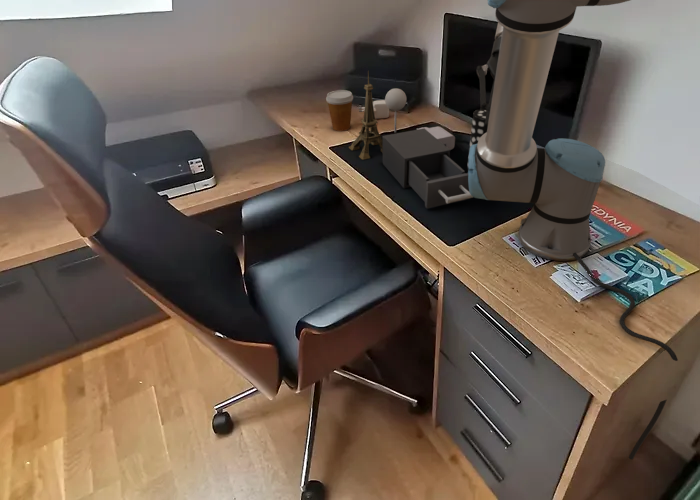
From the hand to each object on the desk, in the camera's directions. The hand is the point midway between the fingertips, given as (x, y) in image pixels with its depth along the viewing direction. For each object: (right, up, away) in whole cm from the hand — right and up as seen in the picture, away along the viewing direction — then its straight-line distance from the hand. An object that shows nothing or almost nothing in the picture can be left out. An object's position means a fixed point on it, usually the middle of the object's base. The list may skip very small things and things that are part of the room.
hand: (489, 139), depth 108 cm
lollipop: (-17, +15, +53) cm, 58 cm away
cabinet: (-14, -2, +29) cm, 33 cm away
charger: (-6, +9, +45) cm, 46 cm away
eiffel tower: (-26, +6, +43) cm, 50 cm away
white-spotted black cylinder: (+4, -7, +22) cm, 24 cm away
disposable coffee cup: (-36, +18, +59) cm, 71 cm away
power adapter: (-24, +24, +65) cm, 73 cm away
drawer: (-9, -11, +16) cm, 21 cm away
